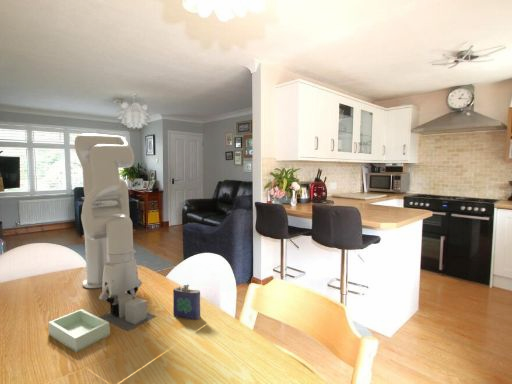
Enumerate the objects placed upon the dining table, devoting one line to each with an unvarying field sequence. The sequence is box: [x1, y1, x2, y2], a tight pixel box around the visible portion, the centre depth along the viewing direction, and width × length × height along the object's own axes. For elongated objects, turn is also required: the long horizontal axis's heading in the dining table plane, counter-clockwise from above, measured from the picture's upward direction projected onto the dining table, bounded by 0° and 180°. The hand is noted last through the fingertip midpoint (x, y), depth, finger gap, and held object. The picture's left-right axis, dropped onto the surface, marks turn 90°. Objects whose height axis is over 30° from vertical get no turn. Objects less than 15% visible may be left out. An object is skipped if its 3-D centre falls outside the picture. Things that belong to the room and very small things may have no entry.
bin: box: [47, 308, 111, 353], centre depth 82 cm, size 9×15×4 cm, turn 58°
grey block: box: [125, 297, 148, 324], centre depth 90 cm, size 4×4×6 cm
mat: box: [99, 311, 158, 332], centre depth 92 cm, size 10×15×1 cm, turn 58°
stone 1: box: [117, 292, 133, 318], centre depth 94 cm, size 4×4×6 cm
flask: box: [172, 283, 202, 321], centre depth 92 cm, size 9×3×11 cm, turn 74°
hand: (122, 311), depth 94 cm, fingers closed on stone 1, 4 cm apart
